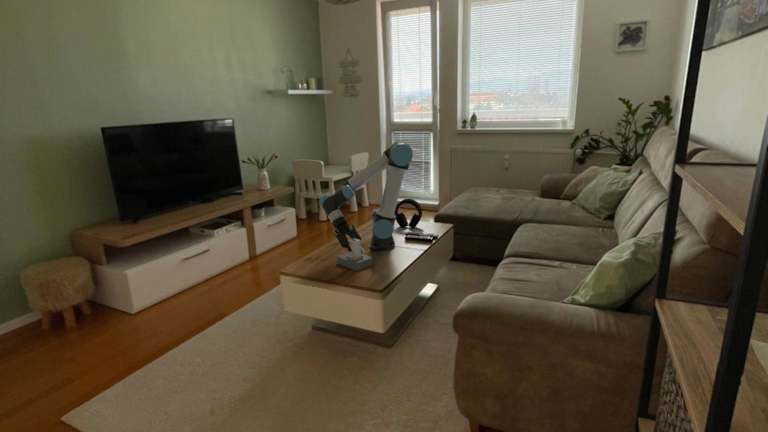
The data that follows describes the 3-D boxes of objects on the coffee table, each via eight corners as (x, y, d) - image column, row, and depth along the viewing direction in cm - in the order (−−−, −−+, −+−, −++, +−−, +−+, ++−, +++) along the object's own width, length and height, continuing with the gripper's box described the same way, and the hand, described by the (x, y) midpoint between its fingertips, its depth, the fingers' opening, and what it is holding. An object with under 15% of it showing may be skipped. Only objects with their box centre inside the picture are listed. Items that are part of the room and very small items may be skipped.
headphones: (394, 228, 295) (393, 200, 290) (396, 225, 301) (396, 198, 296) (420, 229, 290) (420, 201, 285) (422, 227, 296) (422, 199, 291)
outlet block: (336, 263, 232) (336, 256, 231) (353, 257, 240) (353, 251, 239) (356, 270, 221) (356, 263, 220) (373, 264, 229) (373, 257, 228)
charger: (348, 261, 230) (347, 239, 227) (355, 258, 233) (354, 237, 230) (354, 263, 226) (353, 241, 223) (361, 261, 230) (360, 239, 227)
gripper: (347, 220, 242) (368, 253, 235) (321, 227, 229) (343, 262, 222) (353, 212, 237) (374, 246, 230) (327, 219, 224) (349, 255, 217)
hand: (359, 254), depth 226 cm, fingers open, 5 cm apart
